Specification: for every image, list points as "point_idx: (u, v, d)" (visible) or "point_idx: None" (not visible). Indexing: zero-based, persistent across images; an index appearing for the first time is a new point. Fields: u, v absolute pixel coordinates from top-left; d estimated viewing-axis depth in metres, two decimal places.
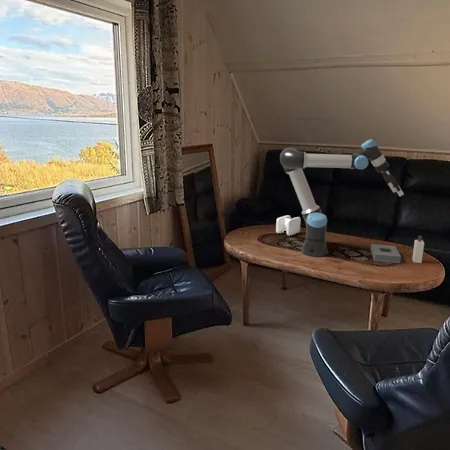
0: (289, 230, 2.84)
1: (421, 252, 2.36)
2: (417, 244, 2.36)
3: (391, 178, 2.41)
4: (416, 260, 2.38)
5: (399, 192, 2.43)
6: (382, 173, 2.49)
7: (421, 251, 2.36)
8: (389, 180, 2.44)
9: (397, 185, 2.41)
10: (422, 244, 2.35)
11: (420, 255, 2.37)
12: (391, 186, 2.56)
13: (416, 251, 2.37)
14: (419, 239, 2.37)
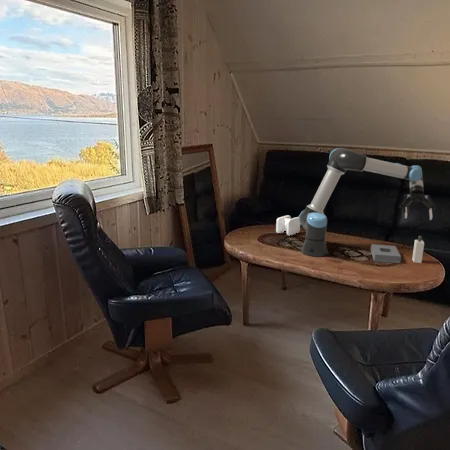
0: (289, 230, 2.84)
1: (421, 252, 2.36)
2: (417, 244, 2.36)
3: None
4: (416, 260, 2.38)
5: None
6: (416, 194, 2.51)
7: (421, 251, 2.36)
8: (426, 201, 2.48)
9: None
10: (422, 244, 2.35)
11: (420, 255, 2.37)
12: None
13: (416, 251, 2.37)
14: (419, 239, 2.37)
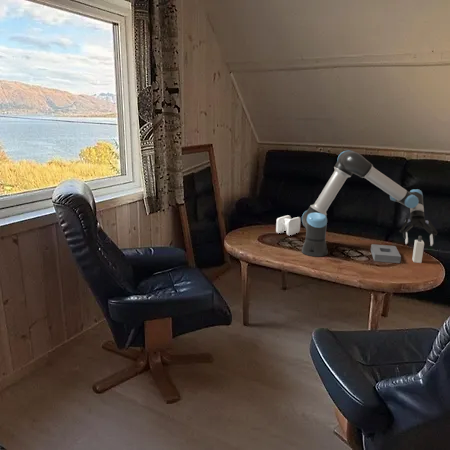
0: (289, 230, 2.84)
1: (421, 252, 2.36)
2: (417, 244, 2.36)
3: None
4: (416, 260, 2.38)
5: None
6: (416, 219, 2.48)
7: (421, 251, 2.36)
8: (427, 227, 2.45)
9: None
10: (422, 244, 2.35)
11: (420, 255, 2.37)
12: None
13: (416, 251, 2.37)
14: (419, 239, 2.37)
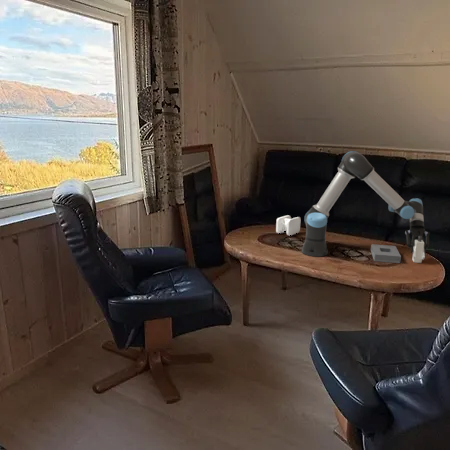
0: (289, 230, 2.84)
1: (421, 252, 2.36)
2: (417, 244, 2.36)
3: None
4: (416, 260, 2.38)
5: None
6: (415, 229, 2.43)
7: (421, 251, 2.36)
8: (423, 239, 2.40)
9: (425, 248, 2.39)
10: (422, 244, 2.35)
11: (420, 255, 2.37)
12: None
13: (416, 251, 2.37)
14: (419, 239, 2.37)
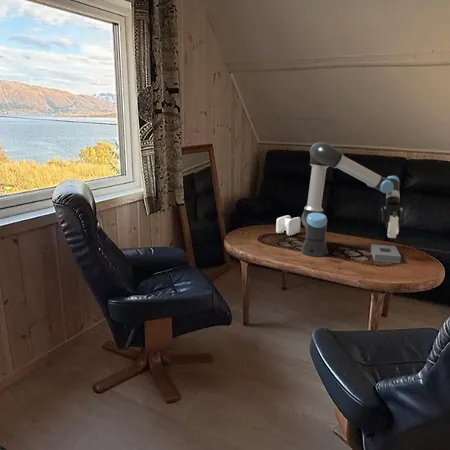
0: (289, 230, 2.84)
1: (395, 227, 2.39)
2: (391, 219, 2.39)
3: None
4: (391, 235, 2.41)
5: None
6: (391, 205, 2.46)
7: (395, 226, 2.39)
8: (398, 215, 2.43)
9: None
10: (396, 219, 2.38)
11: (394, 230, 2.40)
12: (389, 226, 2.41)
13: (391, 226, 2.40)
14: (394, 214, 2.39)
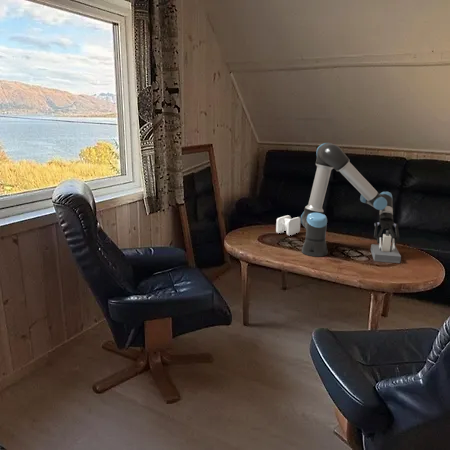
0: (289, 230, 2.84)
1: (389, 246, 2.43)
2: (385, 238, 2.43)
3: None
4: None
5: None
6: (384, 221, 2.50)
7: (389, 245, 2.43)
8: (392, 230, 2.47)
9: (396, 239, 2.45)
10: (389, 238, 2.42)
11: (388, 249, 2.44)
12: (380, 241, 2.45)
13: (384, 245, 2.44)
14: (387, 233, 2.43)
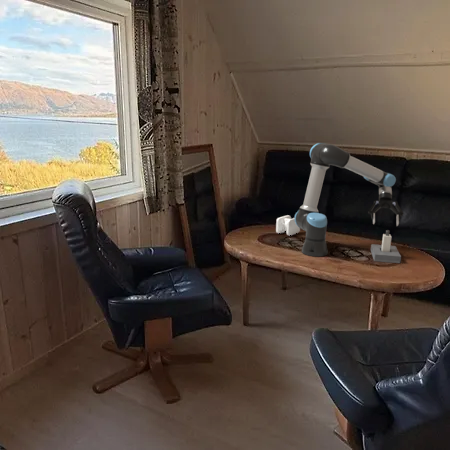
0: (289, 230, 2.84)
1: (389, 246, 2.43)
2: (385, 238, 2.43)
3: None
4: None
5: None
6: (384, 201, 2.59)
7: (389, 245, 2.43)
8: (394, 208, 2.56)
9: (400, 215, 2.55)
10: (389, 238, 2.42)
11: (388, 249, 2.44)
12: (374, 217, 2.56)
13: (384, 245, 2.44)
14: (387, 233, 2.43)
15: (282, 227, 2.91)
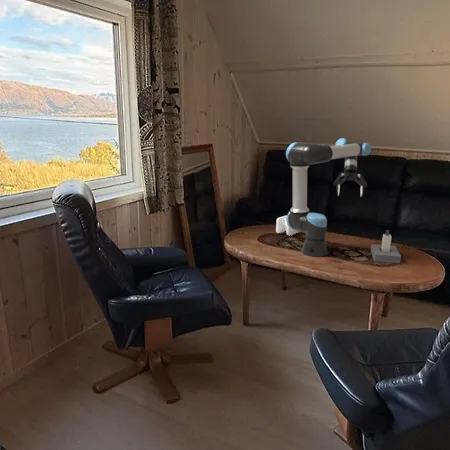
0: (289, 230, 2.84)
1: (389, 246, 2.43)
2: (385, 238, 2.43)
3: None
4: None
5: None
6: (349, 173, 2.65)
7: (389, 245, 2.43)
8: (358, 180, 2.62)
9: None
10: (389, 238, 2.42)
11: (388, 249, 2.44)
12: None
13: (384, 245, 2.44)
14: (387, 233, 2.43)
15: (282, 227, 2.91)
